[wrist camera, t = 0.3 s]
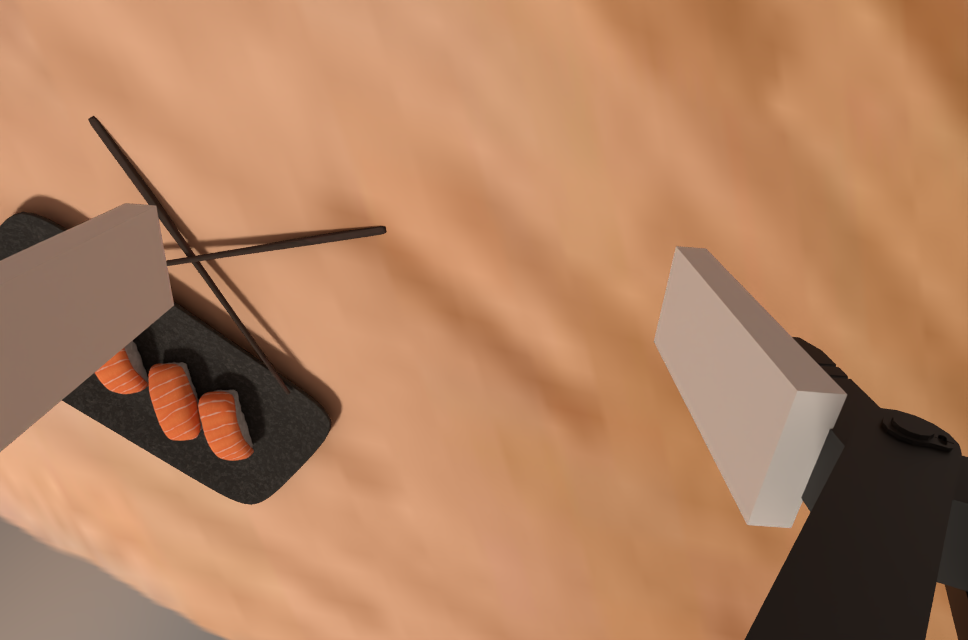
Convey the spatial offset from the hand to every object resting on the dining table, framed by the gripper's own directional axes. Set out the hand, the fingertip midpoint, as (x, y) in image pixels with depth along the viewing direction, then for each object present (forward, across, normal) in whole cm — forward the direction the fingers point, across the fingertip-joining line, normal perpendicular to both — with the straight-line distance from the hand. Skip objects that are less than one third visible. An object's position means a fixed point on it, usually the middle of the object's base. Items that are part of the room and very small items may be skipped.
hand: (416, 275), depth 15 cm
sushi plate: (+28, -20, -16) cm, 38 cm away
